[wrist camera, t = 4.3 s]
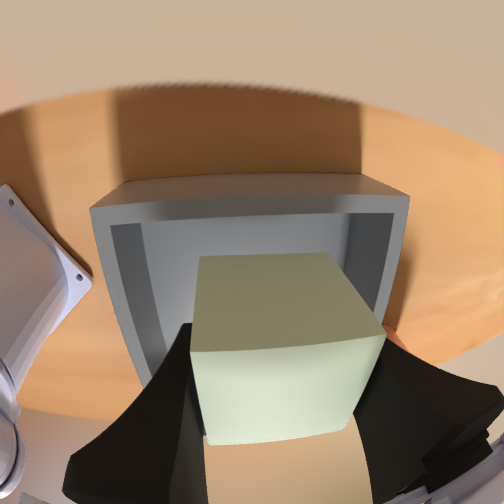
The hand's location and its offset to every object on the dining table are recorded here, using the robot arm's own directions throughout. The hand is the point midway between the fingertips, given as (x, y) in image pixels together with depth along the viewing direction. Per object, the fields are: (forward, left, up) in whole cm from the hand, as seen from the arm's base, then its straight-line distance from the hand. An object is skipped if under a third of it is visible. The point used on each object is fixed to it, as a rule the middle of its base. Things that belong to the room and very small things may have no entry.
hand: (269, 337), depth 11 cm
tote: (+3, -2, -7) cm, 8 cm away
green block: (0, 0, -2) cm, 2 cm away
